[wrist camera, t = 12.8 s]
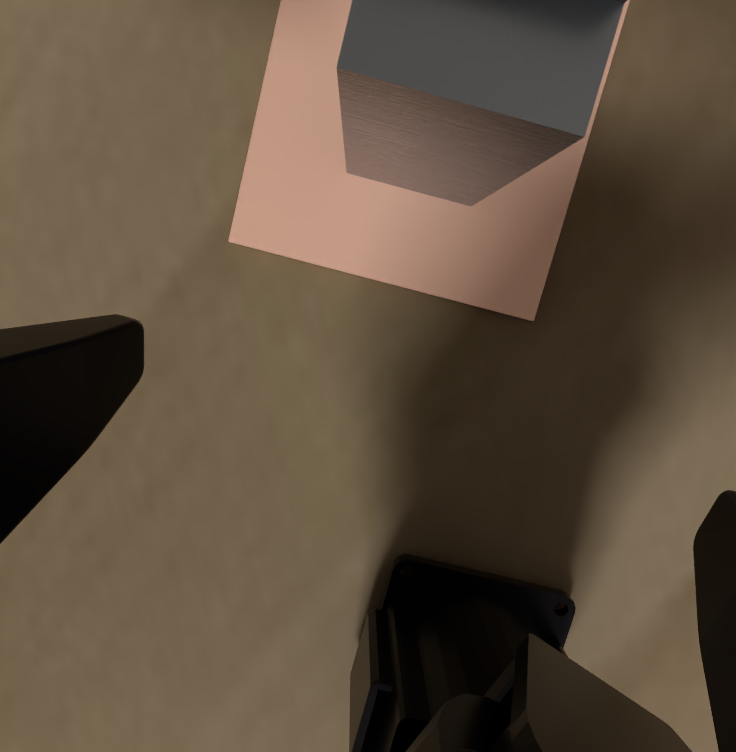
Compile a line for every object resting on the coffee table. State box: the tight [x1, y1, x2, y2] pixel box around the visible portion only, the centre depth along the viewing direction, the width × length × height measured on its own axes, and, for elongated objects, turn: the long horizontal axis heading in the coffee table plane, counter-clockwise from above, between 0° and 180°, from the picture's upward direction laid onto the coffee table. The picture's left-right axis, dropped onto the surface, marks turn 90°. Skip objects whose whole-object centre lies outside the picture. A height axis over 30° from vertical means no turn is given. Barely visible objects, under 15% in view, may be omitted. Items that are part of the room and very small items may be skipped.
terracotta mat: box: [228, 0, 630, 321], centre depth 19 cm, size 10×10×1 cm
